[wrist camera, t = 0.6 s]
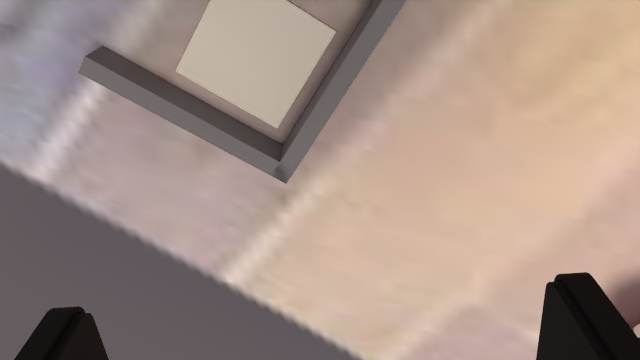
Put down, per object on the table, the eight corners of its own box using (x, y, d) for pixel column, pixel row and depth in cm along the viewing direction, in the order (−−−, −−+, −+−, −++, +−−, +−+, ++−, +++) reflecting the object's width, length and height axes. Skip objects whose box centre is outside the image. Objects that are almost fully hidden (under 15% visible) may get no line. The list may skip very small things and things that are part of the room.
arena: (207, -202, 29) (196, -214, 27) (425, -48, 33) (435, -45, 30) (96, 61, 36) (78, 72, 33) (288, 165, 39) (286, 183, 37)
